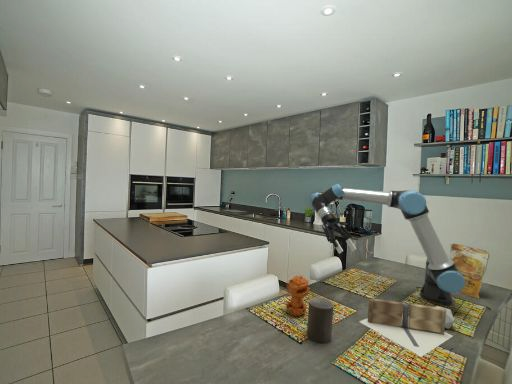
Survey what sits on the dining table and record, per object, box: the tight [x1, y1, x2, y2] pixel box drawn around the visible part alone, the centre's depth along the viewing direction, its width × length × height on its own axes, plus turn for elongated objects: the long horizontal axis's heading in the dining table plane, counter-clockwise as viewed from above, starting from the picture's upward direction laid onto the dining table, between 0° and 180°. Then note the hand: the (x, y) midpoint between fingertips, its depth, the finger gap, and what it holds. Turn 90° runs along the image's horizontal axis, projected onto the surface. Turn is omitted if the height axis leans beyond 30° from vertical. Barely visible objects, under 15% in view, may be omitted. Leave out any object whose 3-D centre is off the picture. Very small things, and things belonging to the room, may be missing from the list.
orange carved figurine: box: [285, 274, 311, 317], centre depth 121 cm, size 11×11×18 cm
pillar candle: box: [306, 297, 334, 344], centre depth 104 cm, size 10×10×15 cm
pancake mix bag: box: [449, 243, 490, 299], centre depth 156 cm, size 7×19×28 cm, turn 24°
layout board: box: [358, 315, 454, 359], centre depth 112 cm, size 27×26×1 cm
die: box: [435, 305, 455, 330], centre depth 117 cm, size 8×9×10 cm
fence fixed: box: [402, 302, 447, 335], centre depth 111 cm, size 16×2×10 cm, turn 78°
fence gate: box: [367, 298, 404, 327], centre depth 115 cm, size 14×2×10 cm, turn 78°
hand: (347, 251), depth 134 cm, fingers open, 10 cm apart
